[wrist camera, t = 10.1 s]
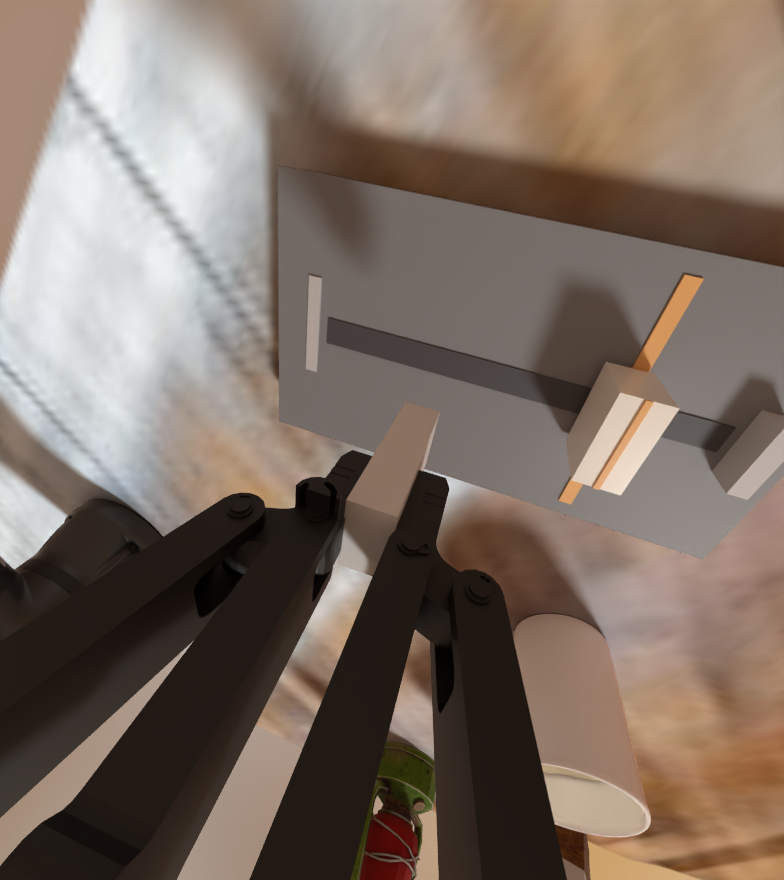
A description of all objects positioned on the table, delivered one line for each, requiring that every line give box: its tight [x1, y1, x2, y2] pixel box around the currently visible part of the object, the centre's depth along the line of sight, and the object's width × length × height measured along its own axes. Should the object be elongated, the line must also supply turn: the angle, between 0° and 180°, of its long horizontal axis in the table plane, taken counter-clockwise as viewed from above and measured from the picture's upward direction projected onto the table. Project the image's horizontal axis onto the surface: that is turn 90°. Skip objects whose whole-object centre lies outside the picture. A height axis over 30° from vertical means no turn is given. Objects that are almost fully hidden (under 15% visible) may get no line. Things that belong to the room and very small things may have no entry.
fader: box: [566, 362, 680, 496], centre depth 19 cm, size 2×5×4 cm, turn 170°
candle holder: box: [513, 614, 651, 837], centre depth 31 cm, size 10×10×12 cm
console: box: [278, 166, 784, 559], centre depth 22 cm, size 30×16×5 cm, turn 80°
